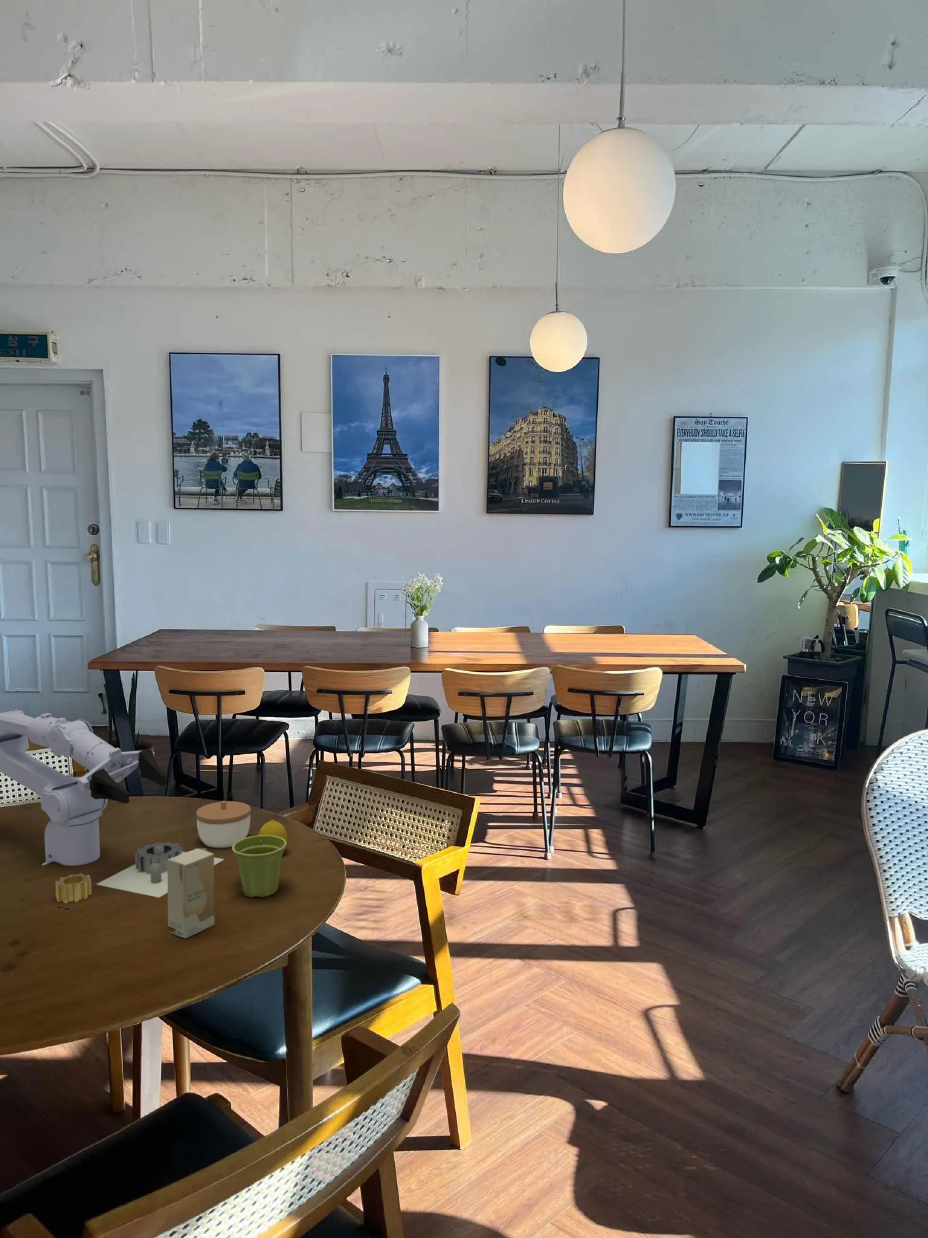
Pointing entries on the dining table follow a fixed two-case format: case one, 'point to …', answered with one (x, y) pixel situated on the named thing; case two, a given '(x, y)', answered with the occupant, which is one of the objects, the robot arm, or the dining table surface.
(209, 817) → the lidded jar
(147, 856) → the gear
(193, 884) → the skincare box
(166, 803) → the dining table surface
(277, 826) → the lemon
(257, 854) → the plant pot
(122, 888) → the gear board
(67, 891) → the brass gear
